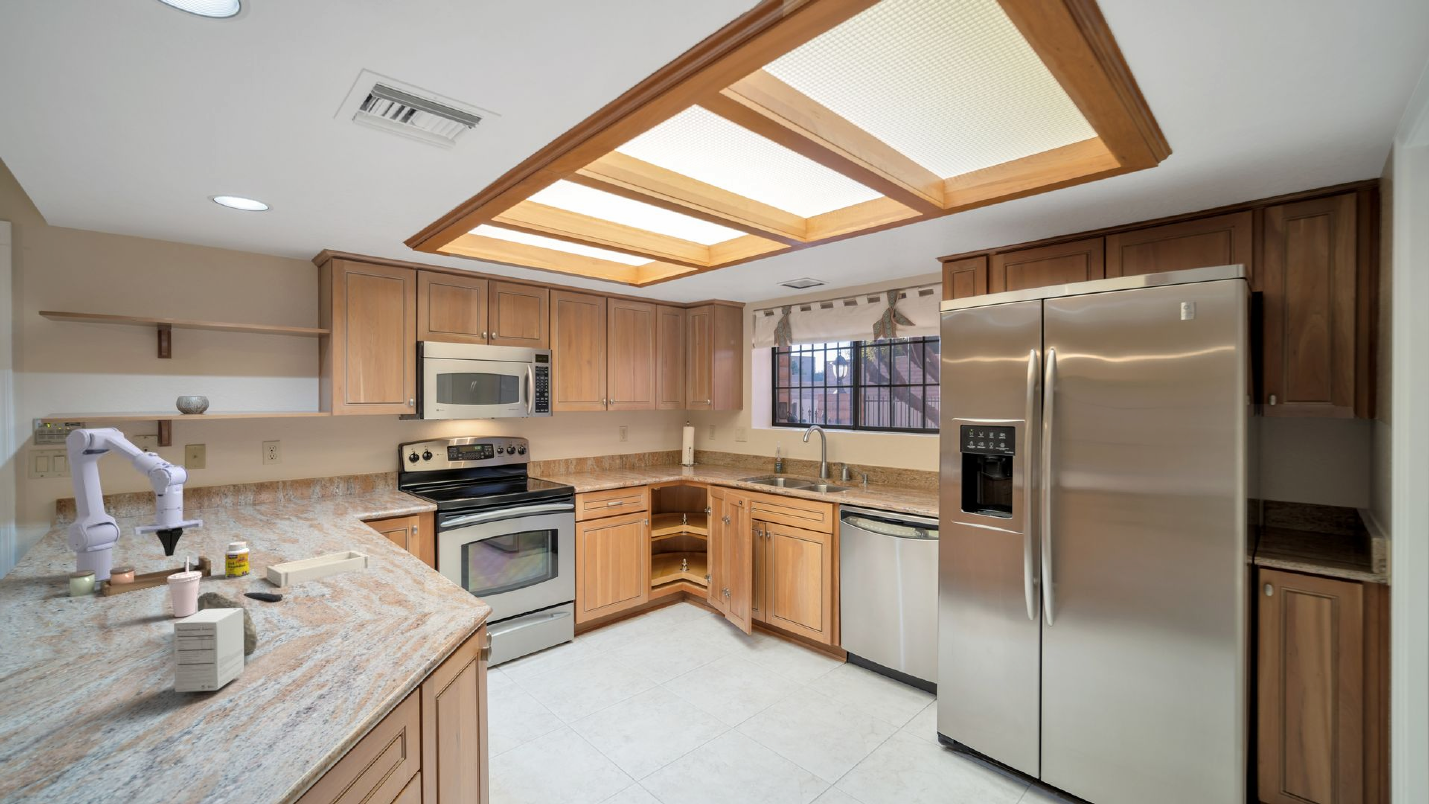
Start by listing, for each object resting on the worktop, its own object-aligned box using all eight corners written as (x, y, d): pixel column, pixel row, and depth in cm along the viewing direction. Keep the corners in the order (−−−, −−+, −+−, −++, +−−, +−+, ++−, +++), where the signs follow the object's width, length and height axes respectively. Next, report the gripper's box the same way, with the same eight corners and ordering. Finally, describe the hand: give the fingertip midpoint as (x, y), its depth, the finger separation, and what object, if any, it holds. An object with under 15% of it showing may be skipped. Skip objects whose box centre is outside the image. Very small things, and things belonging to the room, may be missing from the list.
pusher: (184, 575, 176) (183, 562, 176) (192, 574, 177) (192, 560, 177) (189, 579, 172) (189, 565, 172) (198, 577, 174) (198, 564, 174)
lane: (100, 590, 163) (100, 572, 163) (202, 572, 180) (202, 555, 180) (106, 597, 158) (106, 578, 158) (210, 577, 175) (210, 560, 175)
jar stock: (108, 590, 163) (108, 569, 163) (132, 586, 167) (132, 565, 167) (111, 594, 160) (111, 572, 160) (136, 589, 164) (136, 568, 164)
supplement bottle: (223, 581, 171) (223, 546, 171) (226, 576, 175) (226, 542, 175) (248, 578, 174) (248, 543, 174) (250, 573, 179) (250, 540, 179)
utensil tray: (266, 580, 172) (266, 566, 172) (353, 562, 191) (353, 550, 191) (281, 588, 165) (281, 573, 165) (370, 569, 183) (370, 556, 183)
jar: (68, 594, 159) (67, 572, 159) (93, 590, 163) (93, 568, 163) (70, 598, 157) (70, 575, 157) (96, 593, 160) (96, 571, 160)
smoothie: (208, 611, 147) (208, 555, 147) (177, 620, 141) (177, 561, 141) (191, 608, 149) (191, 552, 149) (160, 617, 143) (160, 559, 143)
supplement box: (204, 673, 113) (204, 608, 113) (245, 672, 114) (245, 606, 114) (172, 693, 106) (172, 622, 106) (216, 691, 106) (216, 621, 106)
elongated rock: (186, 630, 135) (186, 586, 135) (216, 623, 139) (216, 581, 139) (241, 670, 115) (240, 619, 115) (273, 660, 119) (273, 611, 119)
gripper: (137, 513, 163) (137, 563, 163) (205, 506, 174) (205, 552, 174) (132, 510, 167) (132, 558, 167) (199, 503, 179) (199, 548, 179)
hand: (169, 555), depth 171 cm, fingers closed
